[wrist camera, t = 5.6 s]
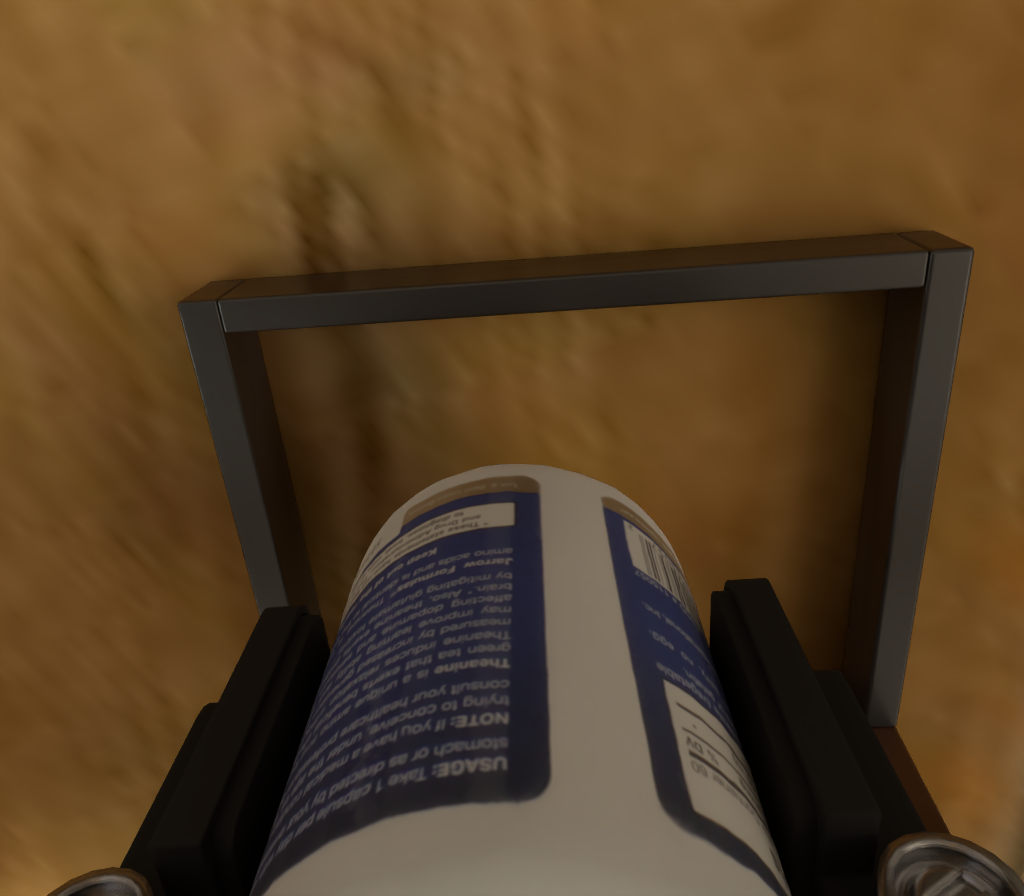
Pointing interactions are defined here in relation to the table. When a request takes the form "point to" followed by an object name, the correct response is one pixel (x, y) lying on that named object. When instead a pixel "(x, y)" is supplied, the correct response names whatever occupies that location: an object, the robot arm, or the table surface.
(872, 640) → the step rack
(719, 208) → the table surface
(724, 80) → the table surface
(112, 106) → the table surface
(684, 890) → the pill bottle
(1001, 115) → the table surface
